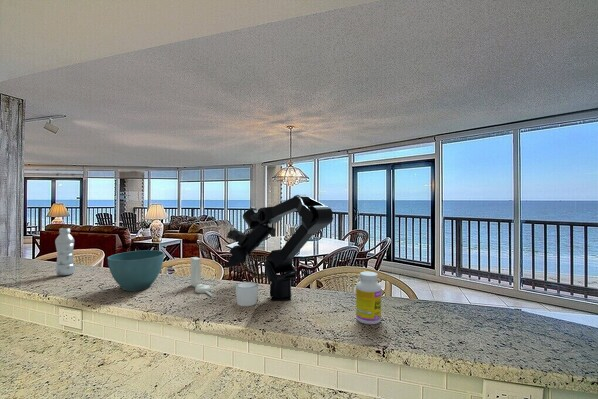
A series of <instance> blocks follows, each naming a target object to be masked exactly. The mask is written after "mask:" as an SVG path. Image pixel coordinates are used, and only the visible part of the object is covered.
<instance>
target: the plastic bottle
mask: <svg viewBox="0 0 598 399" xmlns="http://www.w3.org/2000/svg"><path fill="white" fill-rule="evenodd" d="M58 230H59V232H58V233H59V235H58V236H57V237H56V238H55V240H54V244H55V249H56V255H57V256H56V257H57V258H56V265H55V273H56V275H57V276H61V277H62V276H69V275H73V274H74V273H75V271H76V265H75V262H74V261H75V260H74V246H75V238H74V237H73V235H72V234H70V233H71V228H70V227H61V228H59V229H58Z"/></svg>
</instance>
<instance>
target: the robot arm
mask: <svg viewBox="0 0 598 399" xmlns="http://www.w3.org/2000/svg"><path fill="white" fill-rule="evenodd" d="M296 212H297V214H298V215H299V217H301V218H300V225H299V226H298V227H297V229H296V230H295V231H294V232H293V234H292V235H291V236H290V238H288V241H287V242H285V244H284V245H283V247H282V248H280V249H273V250H271V251H270V253H269V254H268V256H266V260H265V261H264V262H265V263H264V270H265V274H266V280H268V282H270V283H269V296H270V297H269V298H270V301H292V279H296V277H297V271H296V269H295V268H294V265H293V264H294V261H293V258H295V256H296V255H297V254H298V253H299V252H300V251H301V249H302V248H303V247H304V246H305V245H306V244H307V243H308V241H310V239H311V238H312V237H313V236H314V234H315V233H317V232H319V231H321V230H323V229H325V228H326V227H328V226H329V225H330V224H331V223H332V222H333V221H334V214H333V213H334V212H333V210H332V208H331V207H330V206H328V205H325V204H324V203H322V202H319V201H317V200H316V199H313V198H311V196H309V195H306V194H296V195H294V196H293V197H290V198H289V199H287V200H284V201H282V202H280V203H278V204H276V205H273V206H265V207H260V208H258V209H257V207H256V206H250V207H249V209H247V210H246V211H245V212H244V213H242V219H243V220H244V222H245V223H246V225H247V226H248V228H249V229H251V230H250V231H249V232H247V233H244V232H242V231H240V230H238V229H235V228H233V227H232V228H230V229H229V231H228V233H227V235H226V238H228V240H230V239H231V240H233V241H235V242H237V243H236V244H237V245H234V246H233V247H232V248H231V249H229V254H231V256H230V258H229V259H228V261H227V263H225V265H224V266H225V268H226V269H228V268H230V267H233V266H236V265H238V264H242V265H243V264H244V263H245V262H246V261H247V260H248V257H249V256H250V255H251V254H252V253H253V252H254V251H255V250H256V249H257V248H259V246H260V245H261V244H262V243H263V242H264V241H265V240H266V239H267V238H268V237H269V236H270V235H271V236H272V237H276V231H277V230H276V228H275V227H273V226H271V225H270V224H277V223H279V222H281V221H282V219H283V217H285V216H287V215H290V214H293V213H296Z"/></svg>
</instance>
